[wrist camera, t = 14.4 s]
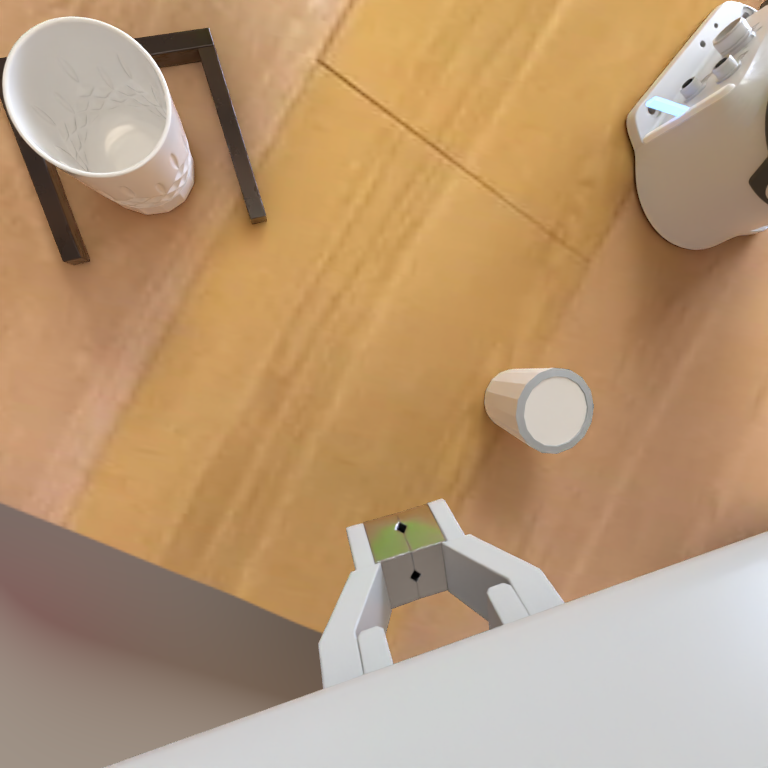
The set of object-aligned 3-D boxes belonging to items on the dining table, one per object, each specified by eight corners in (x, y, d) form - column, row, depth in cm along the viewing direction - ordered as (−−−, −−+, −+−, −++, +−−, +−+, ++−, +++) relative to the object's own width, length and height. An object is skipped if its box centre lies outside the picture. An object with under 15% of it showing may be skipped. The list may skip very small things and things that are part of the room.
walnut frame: (267, 221, 35) (266, 215, 33) (73, 265, 32) (62, 261, 31) (212, 41, 33) (208, 27, 31) (0, 73, 30) (-15, 59, 29)
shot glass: (468, 424, 41) (505, 442, 34) (490, 353, 40) (532, 356, 34) (531, 442, 42) (579, 463, 36) (554, 374, 42) (605, 381, 35)
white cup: (174, 243, 34) (129, 206, 24) (67, 185, 32) (-28, 120, 22) (222, 151, 34) (196, 78, 24) (118, 89, 32) (45, -19, 22)
